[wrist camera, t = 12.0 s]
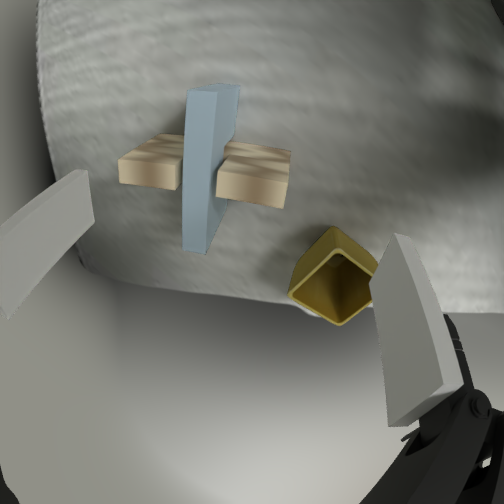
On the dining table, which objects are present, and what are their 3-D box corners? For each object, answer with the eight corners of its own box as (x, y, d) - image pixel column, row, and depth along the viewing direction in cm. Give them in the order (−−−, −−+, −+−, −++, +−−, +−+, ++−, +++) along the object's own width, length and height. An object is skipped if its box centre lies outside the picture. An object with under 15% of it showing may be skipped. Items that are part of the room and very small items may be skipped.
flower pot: (288, 251, 40) (284, 296, 33) (329, 206, 35) (337, 247, 28) (334, 281, 42) (339, 327, 35) (376, 243, 37) (391, 287, 30)
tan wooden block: (159, 152, 34) (119, 182, 26) (160, 133, 32) (118, 159, 24) (286, 170, 33) (282, 208, 25) (290, 151, 32) (288, 183, 24)
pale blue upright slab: (218, 83, 28) (187, 90, 20) (240, 85, 28) (217, 92, 20) (207, 206, 38) (182, 250, 30) (226, 209, 38) (205, 254, 29)
